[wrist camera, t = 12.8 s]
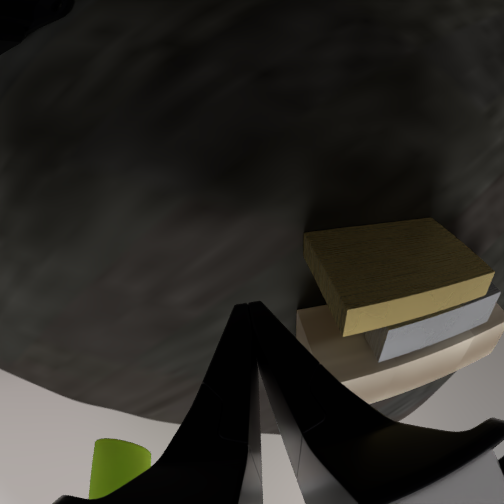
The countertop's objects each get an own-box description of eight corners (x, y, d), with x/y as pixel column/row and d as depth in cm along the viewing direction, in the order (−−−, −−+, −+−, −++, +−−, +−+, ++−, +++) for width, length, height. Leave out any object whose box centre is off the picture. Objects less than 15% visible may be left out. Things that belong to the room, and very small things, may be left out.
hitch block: (296, 310, 15) (323, 386, 11) (467, 272, 16) (510, 318, 12) (295, 347, 17) (317, 418, 13) (454, 306, 17) (490, 353, 13)
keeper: (303, 232, 13) (347, 310, 9) (431, 217, 13) (494, 271, 9) (303, 256, 13) (342, 336, 9) (427, 237, 14) (485, 295, 10)
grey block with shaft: (346, 264, 14) (388, 330, 10) (451, 244, 14) (500, 291, 11) (331, 373, 19) (351, 429, 15) (416, 348, 19) (443, 394, 15)
